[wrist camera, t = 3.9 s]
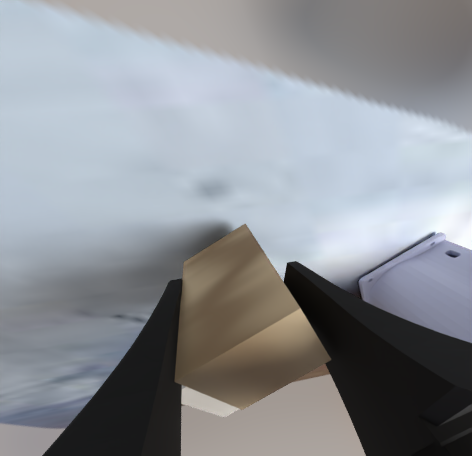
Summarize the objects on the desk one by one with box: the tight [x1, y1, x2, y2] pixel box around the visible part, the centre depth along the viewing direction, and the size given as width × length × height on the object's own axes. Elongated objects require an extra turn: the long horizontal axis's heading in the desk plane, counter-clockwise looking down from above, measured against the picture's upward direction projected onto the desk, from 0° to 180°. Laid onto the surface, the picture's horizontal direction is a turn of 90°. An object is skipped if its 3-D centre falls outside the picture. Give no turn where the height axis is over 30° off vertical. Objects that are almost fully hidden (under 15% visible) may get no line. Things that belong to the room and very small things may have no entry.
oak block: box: [174, 224, 331, 410], centre depth 9 cm, size 4×4×6 cm
